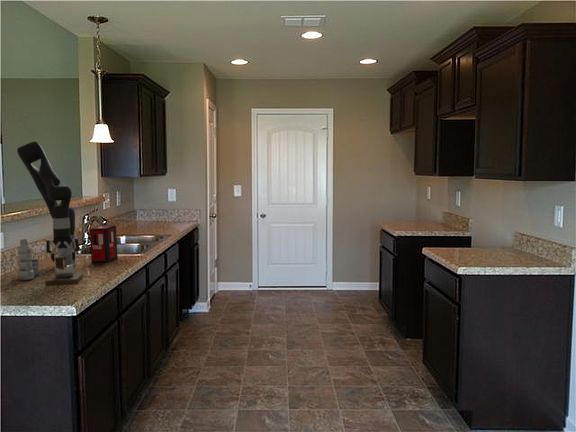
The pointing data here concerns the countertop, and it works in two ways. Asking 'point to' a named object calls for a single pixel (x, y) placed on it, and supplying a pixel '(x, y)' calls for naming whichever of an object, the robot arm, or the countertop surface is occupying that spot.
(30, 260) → the plastic bottle
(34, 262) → the medicine box
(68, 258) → the grey piece
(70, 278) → the coupling base
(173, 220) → the countertop surface
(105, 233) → the cleaning product box
